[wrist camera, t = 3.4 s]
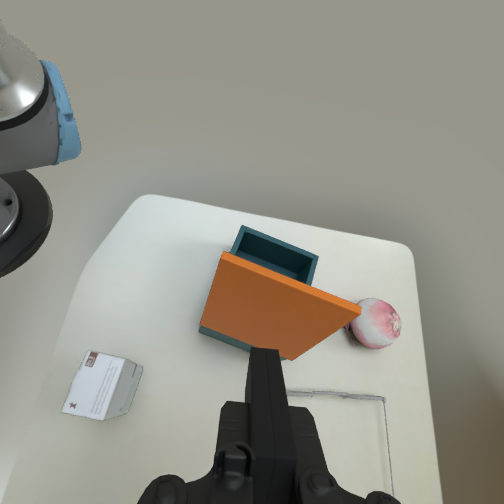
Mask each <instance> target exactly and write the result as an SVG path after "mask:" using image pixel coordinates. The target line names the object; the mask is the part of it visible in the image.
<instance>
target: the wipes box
mask: <svg viewBox="0 0 504 504" xmlns="http://www.w3.org/2000/svg"><path fill="white" fill-rule="evenodd" d="M230 254H232V255H235V256H237V257H240V258H242V259H245V260H247V261H250V262H252V263H255V264H257V265H260V266H262V267H265V268H267V269H269V270H272V271H274V272H277V273H279V274H282V275H284V276H287V277H289V278H292V279H294V280H297V281H299V282H302V283H304V284H307V285H309V286H311V284H312V280H313V276H314V272H315V269H316V265H317V261H318V257H319V256H317V255H315V254H312V253H310V252H308V251H305V250H303V249H300V248H298V247H295V246H293V245H290V244H288V243H285V242H283V241H281V240H278V239H276V238H273V237H271V236H268V235H266V234H263V233H261V232H259V231H256V230H254V229H251V228H249V227H246V226H244V225H242V226H241V228H240V230H239V233H238V235H237V237H236V240H235V242H234V244H233V247H232V249H231V252H230ZM199 332H200V333H202V334H205V335H208V336H210V337H213V338H215V339H218V340H220V341H223V342H225V343H228V344H230V345H233V346H236V347H238V348H241V349H243V350H246V351H248V352H250V349H251V347H255V346H253V345H250V344H248V343H245V342H243V341H240V340H238V339H235V338H232V337H230V336H227V335H225V334H222V333H220V332H217V331H215V330H212V329H210V328H207V327H204V326H202V325H200V328H199ZM282 360H286V358H283V357H281V356H280V361H282Z"/></svg>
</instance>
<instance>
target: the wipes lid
mask: <svg viewBox="0 0 504 504" xmlns="http://www.w3.org/2000/svg"><path fill="white" fill-rule="evenodd" d="M361 310H362V307H361V306H359V305H356V304H354V303H351V302H349V301H346V300H344V299H341V298H339V297H336V296H334V295H331V294H329V293H326V292H324V291H322V290H319V289H317V288H314V287H312V286H309V285H307V284H304V283H302V282H299V281H297V280H294V279H292V278H289V277H287V276H284V275H282V274H279V273H277V272H274V271H272V270H269V269H267V268H265V267H262V266H260V265H257V264H255V263H252V262H250V261H247V260H245V259H242V258H240V257H237V256H235V255H232V254H230V253H227V252H225V251H224V252H223V253H222V255H221V258H220V261H219V264H218V267H217V270H216V274H215V277H214V280H213V283H212V286H211V290H210V293H209V296H208V299H207V302H206V306H205V309H204V312H203V315H202V318H201V322H200V325H202V326H204V327H207V328H210V329H212V330H215V331H217V332H220V333H222V334H225V335H227V336H230V337H232V338H235V339H238V340H240V341H243V342H245V343H248V344H250V345H253V346H255V347H258V348H268V349H278V350H279V355H280V356H281V357H283V358H286V359H288V360H291V361H293V360H294V359H296V358H297V357H299V356H300V355H302V354H303V353H305V352H306V351H308V350H309V349H311V348H312V347H313V346H315V345H316V344H318V343H319V342H321V341H322V340H324V339H325V338H327V337H328V336H330V335H331V334H333V333H334V332H336V331H337V330H339V329H340V328H342V327H343V326H345V325H346V324H348V323H349V322H351V321H352V320H354V319H355V318H357V317H358V316H360V315H361Z"/></svg>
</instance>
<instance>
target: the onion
mask: <svg viewBox="0 0 504 504" xmlns="http://www.w3.org/2000/svg"><path fill="white" fill-rule="evenodd" d="M356 305H359V306H361V307H362V310H361V315H360V316H358V317H357V318H355V319H354V320H352V321H351V322H349V323H348V324H346V325H345V328H346V330H347V332H348V331H349V330H350V327H351V328H352V331H353V334H354V335H355V337H356V338H357V339H358V341H359V342H361V343H362V344H363V345H364V346H366V347H368V348H373V349H381V348H384V347H386V346H389V345H391V344H392V343H393V342H394V341H395V340H396V339H397V338H398V336H399V335H400V331H401V321H400V318H399V315H398V314H397V312H396V311H395V310H394V308H393V307H392V306H391V305H389V304H388V303H386V302H384V301H382V300H379V299H376V298H367V299H364V300H361V301H359V302H358V303H357V304H356ZM350 331H351V330H350ZM348 333H349V332H348ZM349 335H350V333H349ZM350 337H351V338H352V339H353V341H354V342H355V340H356V339H355V338H353V337H352V336H351V335H350ZM355 344H356V342H355ZM356 345H357V344H356Z"/></svg>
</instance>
